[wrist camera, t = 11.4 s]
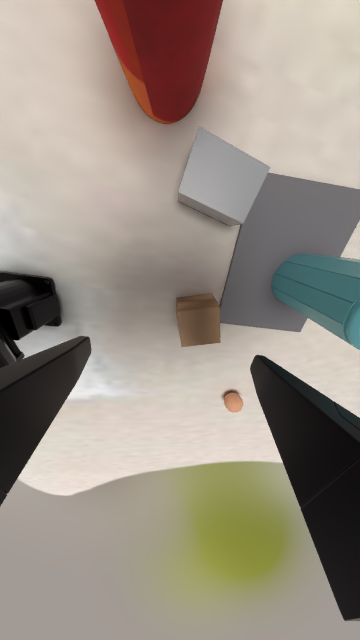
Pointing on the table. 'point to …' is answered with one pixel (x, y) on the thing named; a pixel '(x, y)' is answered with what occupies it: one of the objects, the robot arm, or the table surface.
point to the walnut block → (198, 320)
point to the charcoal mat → (284, 245)
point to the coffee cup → (162, 50)
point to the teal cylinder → (323, 292)
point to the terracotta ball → (233, 402)
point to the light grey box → (221, 179)
